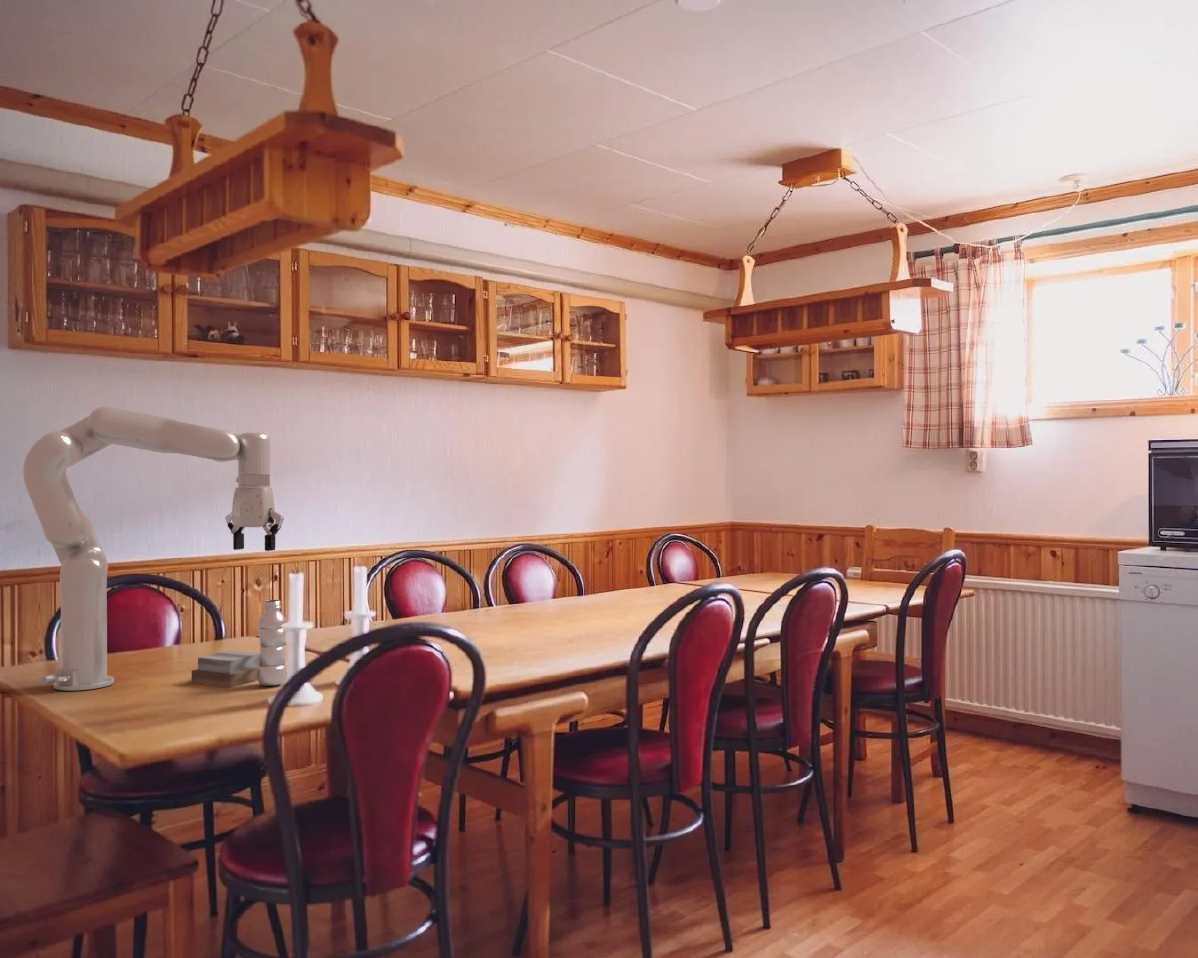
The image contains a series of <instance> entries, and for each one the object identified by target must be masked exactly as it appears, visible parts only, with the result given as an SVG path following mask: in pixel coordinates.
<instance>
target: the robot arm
mask: <svg viewBox="0 0 1198 958" xmlns="http://www.w3.org/2000/svg"><path fill="white" fill-rule="evenodd" d="M270 439H271V438H270V436H269V435H268V434H267V433H264V432H244V433H243V432H242V433H232V432H230V431H227V430H224V429H217V428H213V427H208V426H203V425H198V424H193V423H189V422H183V421H179V420H175V419H171V418H168V417H163V416H157V415H153V414H147V413H142V412H137V411H133V410H127V409H122V408H117V407H112V406H100V407H97V408H95V409H94V410H92V411H91V412H90V414H88V416H86V417H85V418H83V419H80V420H79V421H77V422H75V423H74V424H71V425H69V426H67V427H65V428H64V429H62V430H54V431H50V432H47V433H46V434H44V435H43V436H40V438H38V440H37V441H36V442H35V443H34V444H33V445H32V446H31V447H30V449H29V450H28V452H27V453H26V456H25V458H24V463H23V469H22V470H23V471H22V472H23V473H22V474H23V480H24V484H25V485H24V486H25V487H26V490H27V492H28V495H29V498H30V500H31V502H32V506H33V508H34V511H35V513H36V517H37V518H38V520H39V522H40V525H41V528H42V532H43V534H44V537H45V540H46V541H48V543H50V545H52V547H53V549H54V552H55V555H56V556H57V559H58V561H59V563H60V566H61V567H60V571H59V572H60V573H59V589H60V668H56V671H55V673H53V674H49V675H48V674H47V675H44V676H41V679H40V680H41V683H42V684H43V685H44V686H45V685H50V684H53V685H52V686H53V689H54V690H57V691H67V692H68V691H70V692H71V691H88V690H95V689H100V688H106V687H108V686H111V685H113V684H114V683H115V677H113V676H111V675H108V610H107V609H108V603H107V602H108V599H107V598H108V597H107V596H108V594H107V593H108V592H107V590H108V589H107V588H108V587H107V586H108V584H107V583H108V569H109V564H108V560H107V557H106V555H105V553H104V551H103V548H102V546H101V543H100V541H99V539H98V536H97V535H96V532H95V529H94V527H93V525H92V523H91V520H90V519H89V518H90V517H88V515H87V514H86V513H85V512H84V511H83V510H82V509H80V507H79V505H78V502H77V500H76V497H75V495H74V492H73V490H72V487H71V484H70V483H69V481H68V477H67V468H69V467H71V466H74V465H76V464H78V463H80V462H82V461H83V460H85V459H87V458H89V457H91V456H92V455H95V454H96V453H98V452H100V451H101V450H104V449H105V448H107V447H109V446H111V445H119V446H122V447H129V448H132V449H133V448H134V449H140V450H145V451H150V452H156V453H161V454H162V453H163V454H178V455H179V454H180V455H186V456H190V457H191V456H192V457H197V458H203V459H208V460H212V461H215V462H218V463H224V462H231V461H238V462H237V463H238V464H237V467H238V468H237V469H238V470H237V473H238V474H237V477H236V478H235V482H236V483H237V485H238V486H237V487H235V489H234V492H233V493H234V494H233V497H232V505H231V507H232V508H231V509H232V510H231V512H230V513H228V514H226V515H225V516H224V520H225V521H226V524H227V528H228V529H229V530H230V533H231V534H232V535H233V537H232V539H233V541H232V542H233V544H232V545H233V546H232V547H233V550H234V551H236V550H239V551H240V550H244V549H245V533H244V532H243V531H244V530H245V528H261V527H262V529H263V530H264V532H265V533H266V534H264V551H265V552H270V551H276V535H278V533H279V531H280V529H281V528H282V525H283V522H284V520H285V518H284V516H282V515H281V514H279V513H278V512H276V511H275V510H276V509H275V499H274V492H273V489H272V487H271V475H270V474H271V461H270V460H271V441H270Z"/></svg>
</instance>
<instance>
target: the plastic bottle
mask: <svg viewBox="0 0 1198 958" xmlns="http://www.w3.org/2000/svg"><path fill="white" fill-rule="evenodd" d="M281 603H282V602H281V600H280V599H268V600H267V599H266V600H264V601H263V609H264V612H263V613H262V614H261V616H260V618H259V619H258V622H257V628H258V630H257V631H258V636H259V647H260V652H259V654H260V661H259V667H258V672H257V678H258V680H257V682H258V684H259V685H261V686H267V687H275V686H278V685H281V684H284V683H285V682H286V680H287V674H288V670H287V666H286V657H285V640H286V633H287V631H286V632H285V631H284V630H283V629H281V625H282V624H284V623H287V624H288V621H287V618H286V616H285V614H283V612H282V611H281V609H282V605H281Z"/></svg>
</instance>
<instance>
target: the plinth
mask: <svg viewBox="0 0 1198 958" xmlns="http://www.w3.org/2000/svg"><path fill="white" fill-rule="evenodd" d="M259 661H260V652H259V653H258V652H257V653H256V652H249V651H248V652H246V651H238V650H237V651H236V650H226V651H221V652H217V653H212V654H208V655H204V656H199V657H197V669H192V670H191V684H195V685H203V686H212V687H219V686H223V687H222V688H227V687H228V688H229V689H231V688H234V687H239V686H241V685H246V684H250V683H253V682H256V681H257V682H258V678H257V672H258V667H259ZM228 688H227V689H228Z"/></svg>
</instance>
